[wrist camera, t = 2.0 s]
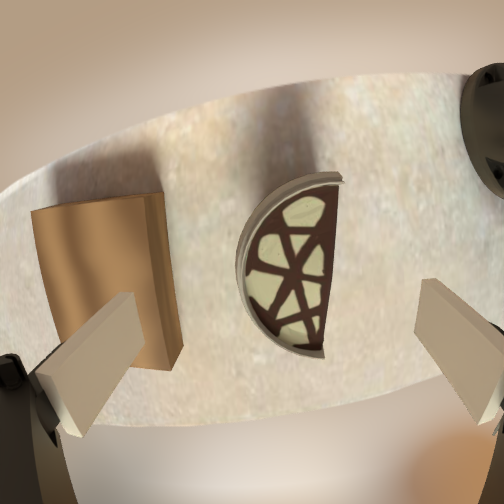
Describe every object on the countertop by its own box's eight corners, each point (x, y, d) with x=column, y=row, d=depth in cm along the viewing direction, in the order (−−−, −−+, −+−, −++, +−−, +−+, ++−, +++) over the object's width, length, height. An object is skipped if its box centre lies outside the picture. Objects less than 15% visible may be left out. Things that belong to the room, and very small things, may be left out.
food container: (248, 167, 26) (231, 166, 16) (320, 170, 25) (345, 172, 16) (245, 300, 29) (231, 362, 20) (310, 303, 29) (323, 365, 19)
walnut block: (165, 191, 27) (143, 196, 23) (184, 344, 32) (171, 371, 27) (59, 204, 28) (30, 211, 24) (86, 335, 33) (65, 356, 28)
